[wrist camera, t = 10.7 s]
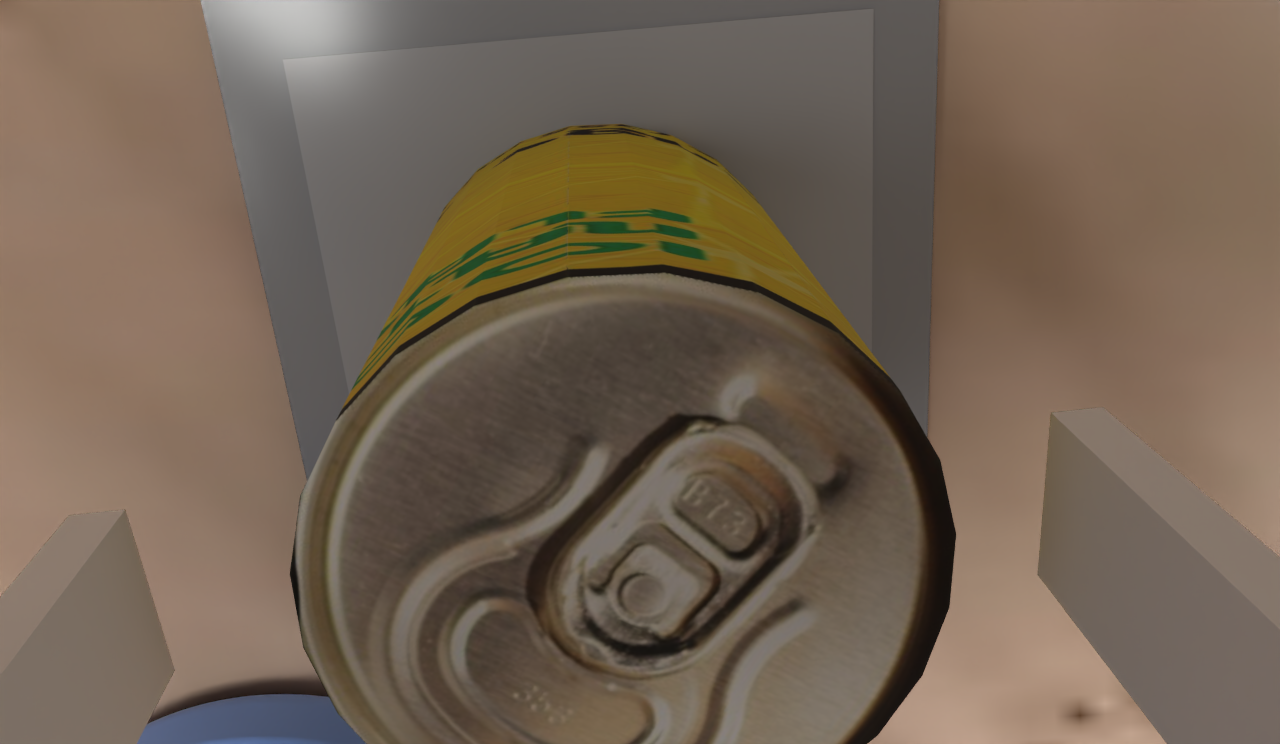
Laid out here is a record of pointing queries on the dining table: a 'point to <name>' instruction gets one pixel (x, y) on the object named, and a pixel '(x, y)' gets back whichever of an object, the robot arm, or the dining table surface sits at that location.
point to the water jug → (254, 722)
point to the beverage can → (619, 477)
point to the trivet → (557, 98)
